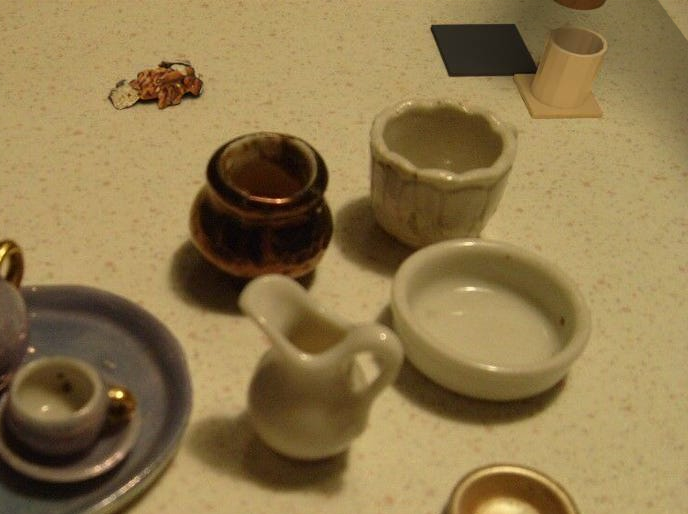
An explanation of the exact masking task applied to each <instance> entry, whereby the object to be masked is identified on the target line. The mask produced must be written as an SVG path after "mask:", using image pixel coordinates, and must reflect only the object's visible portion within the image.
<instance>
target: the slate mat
mask: <svg viewBox="0 0 688 514" xmlns="http://www.w3.org/2000/svg"><path fill="white" fill-rule="evenodd" d="M430 25H431V26H430V29H431V30H430V31H431V33H432V36H433V38H434V41H435V43H436V45H437V48H438V51H439V54H440V56H441V58H442V61H443V63H444V66H445V68H446V69H445V70H446V71H447V73H448V76H449V77H508V76H509V77H512V76H513V77H514V75H515V74H535V73H536V70H537V67H538V65H537V64H536V62H535V61H534V58H533V56H532V55H531V53H530V50H529V49H528V47H527V44H526V43H525V41H524V39H523V37H522V35H521V32H520V31H519V29H518V27H517V25H516V23H459V24H458V23H452V24H448V23H447V24H445V23H444V24H443V23H442V24H439V23H438V24H430Z"/></svg>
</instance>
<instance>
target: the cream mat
mask: <svg viewBox="0 0 688 514" xmlns="http://www.w3.org/2000/svg"><path fill="white" fill-rule="evenodd" d="M534 76H535V74H515V75H514V76H513V80H514V82H515V84H516V86H517V88H518V89H517V90H518V91H519V93H520V95H521V98H522V99H523V101H524V104H525V105H526V107H527V110H528V112H529V114H530V116H531V118H532V119H578V118H579V119H581V118H582V119H583V118H584V119H585V118H587V119H588V118H592V119H593V118H603V116H604V112H603V110H602V108H601V106H600V105H599V102H598V101H597V99H596V97H595V95H594V94H593V92H592V89H591V90H590V92H589V95H588V97H587V99H586V101H585V103H584V104H583V105H581V106H580V107H577V108H574V109H557V108H552V107H549V106H547V105H544V104H542V103H541V102H539V101H538V100H536V99H535V98H534V97H533V95H532V93H531V85H532V81H533V79H534Z"/></svg>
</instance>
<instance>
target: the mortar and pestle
mask: <svg viewBox="0 0 688 514" xmlns="http://www.w3.org/2000/svg"><path fill="white" fill-rule="evenodd" d="M553 2H555V3H556V4H558V5H559V6H561V7H564V8H568V9H570V10H577V11H593V10H597V9H599V8H602V7H603V6H604V5H605V4H606V2H607V0H553Z"/></svg>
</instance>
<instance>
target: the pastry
mask: <svg viewBox="0 0 688 514" xmlns="http://www.w3.org/2000/svg"><path fill="white" fill-rule="evenodd" d="M174 65H177V66H178V67H176V68H175V69H174V68H173V66H174ZM197 75H198V76H197ZM197 75H196V69H195V67H193V66H192V62H191V60H189V59H188V58H184V59H175V60H169V59H166V60H161V62H159V63H158V64H157V68H155V69H152V68H151V69H144V70H141V71H139V72H138V73H137V75H136V79H133V78H132V80H130V81H129V82H128V81H127V80H126V79H125V78H124V79H121V80H120V79H119V80H117V81H116V82H115V88H111V89H110V91H109V93H108V94H107V97H109V98H110V100H111V101H112V103H113V105H114V107H115V108H116V109H118V110H122V109H124V108H126V107H131V106H133V105H134V104H135V103H136V102H137V101H138V100H140V99H141V100H151V99H155V98H158V100H157V103H158V108H159V110H165V109H166V108H167V106H169V105H171V106H174V105H177V104H180V103H181V102H182V99H183V96H184V95H185V94H186V93H188V92H191V93H192V94H193V95H194V96H196V95H200V94H201V93H202V91H203V89H204V87H205V83H204V80H202V78H204V76H203V74H202V73H197ZM200 78H201V79H200Z"/></svg>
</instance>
